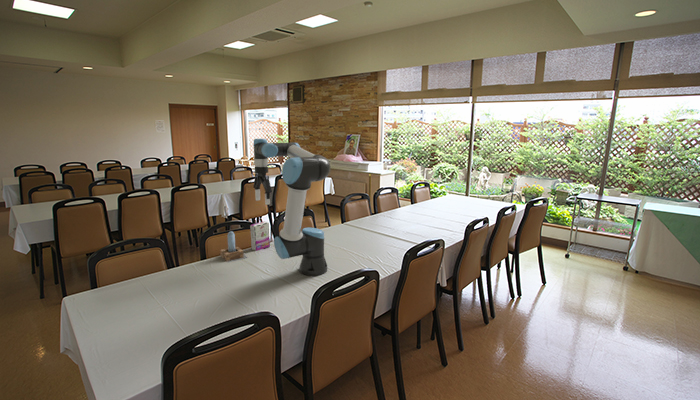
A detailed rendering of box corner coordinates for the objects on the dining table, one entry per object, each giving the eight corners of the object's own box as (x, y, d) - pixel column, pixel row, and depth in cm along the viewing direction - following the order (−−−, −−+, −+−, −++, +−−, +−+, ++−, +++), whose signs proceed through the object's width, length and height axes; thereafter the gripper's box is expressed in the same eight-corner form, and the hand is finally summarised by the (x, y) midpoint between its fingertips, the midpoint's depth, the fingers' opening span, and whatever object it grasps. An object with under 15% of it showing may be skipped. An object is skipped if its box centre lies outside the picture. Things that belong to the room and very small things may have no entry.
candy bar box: (265, 245, 226) (264, 221, 223) (270, 246, 223) (269, 222, 220) (251, 249, 217) (249, 224, 214) (256, 251, 214) (254, 226, 211)
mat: (248, 258, 203) (248, 257, 203) (227, 262, 196) (227, 262, 196) (239, 251, 214) (239, 250, 214) (219, 255, 207) (219, 255, 207)
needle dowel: (236, 257, 204) (235, 231, 201) (230, 258, 202) (228, 232, 198) (234, 255, 207) (233, 230, 204) (227, 256, 205) (226, 231, 201)
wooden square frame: (243, 257, 204) (243, 251, 203) (226, 261, 197) (226, 254, 197) (237, 252, 211) (237, 246, 210) (220, 256, 205) (220, 249, 204)
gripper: (277, 167, 190) (278, 205, 194) (258, 163, 209) (260, 198, 214) (264, 168, 185) (265, 207, 190) (246, 164, 205) (248, 199, 209)
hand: (262, 202), depth 202 cm, fingers open, 13 cm apart
